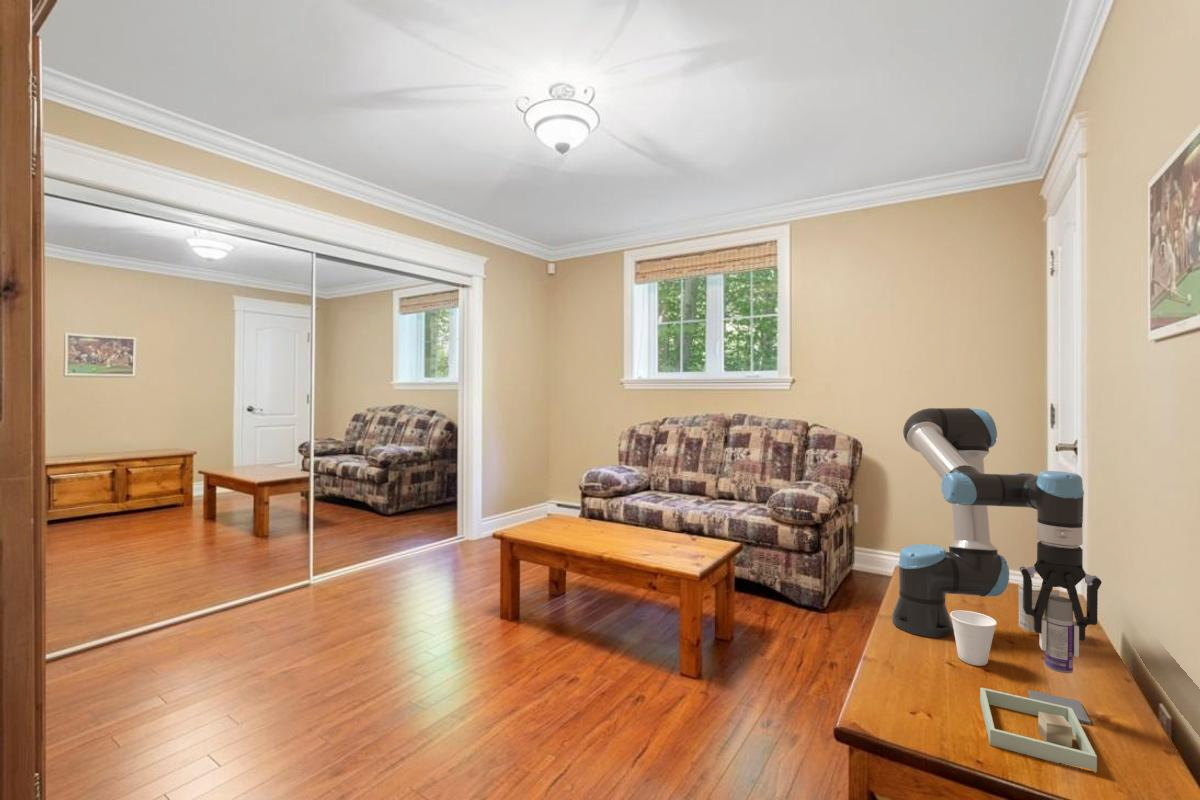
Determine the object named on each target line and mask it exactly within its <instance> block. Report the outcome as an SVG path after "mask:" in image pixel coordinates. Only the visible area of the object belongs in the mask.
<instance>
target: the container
mask: <svg viewBox="0 0 1200 800" xmlns="http://www.w3.org/2000/svg"><path fill="white" fill-rule="evenodd" d="M1045 619H1046V621H1047V639H1046V651H1044V666H1045V667H1046V668H1047V669H1049V670H1051V671H1054V672H1057V673H1061V674H1072V673H1073V672H1074V655H1073V622H1074V612H1073V604H1072V601H1071V600H1070V598H1069V597H1064V596H1061V595H1059V596H1054V595H1050V596H1049V599H1048V602H1047V605H1046V608H1045Z"/></svg>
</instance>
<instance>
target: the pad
mask: <svg viewBox="0 0 1200 800" xmlns="http://www.w3.org/2000/svg"><path fill="white" fill-rule="evenodd" d="M1027 694H1028V696H1029V697H1028V698H1030V699H1035V700H1039V701H1044V702H1048V703H1052V704H1057V705H1061V706H1066V707H1070V708H1072V709H1073V711H1074V713H1075V715H1076V717H1077V719H1078V721H1079V723H1080V724H1084V723H1085V725H1088V724H1090V725H1089V726H1092V722H1091V719H1090V718H1089V716H1088V714H1087V712H1086V710H1085V708H1084V707H1083V705H1082V703H1081V701H1080V700H1078V699H1077V700H1076V699H1073V698H1068V697H1065V696H1059V695H1055V694H1049V693H1044V692H1040V691H1035V690H1030V689H1027Z"/></svg>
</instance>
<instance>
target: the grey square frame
mask: <svg viewBox="0 0 1200 800" xmlns="http://www.w3.org/2000/svg"><path fill="white" fill-rule="evenodd" d="M979 690H980V691H979V703H980V707H981V710H982V715H983V720H984V725H985V728H986V729H985V730H986V733H987V737H988V742H989V746H993V747H995V748H1000V749H1004V750H1007V751H1011V752H1015V753H1018V754H1022V755H1025V754H1026V755H1025V756H1030V757H1033V758H1037V759H1041V760H1045V761H1048V762H1053V763H1056V764H1059V763H1062V764H1061V765H1063V764H1068V765H1073V766H1078V767H1083V768H1088V769H1091V770H1094V771H1096V772H1098V770H1097V769H1098V765H1097V764H1098V756H1097V754H1096V752H1095V750H1094V748H1093V747H1092V745H1091V742H1090V741H1089V739H1088V737H1087V734H1086V733H1085V731H1084V729H1083V727H1082V725H1081V723H1080V722H1079V721H1078V719H1077V717H1076V715H1075V713H1074V711H1073V709H1072V708H1070V707H1066V706H1061V705H1057V704H1052V703H1048V702H1044V701H1039V700H1035V699H1030V697H1026V696H1021V695H1015V694H1013V693H1012V694H1011V693H1008V692H1003V691H999V690H994V689H991V688H985V687H980V688H979ZM990 706H994V707H999V708H1002V709H1007V710H1011V711H1015V712H1020V713H1024V714H1028V715H1032V716H1037V717H1038V712H1043V713H1049V714H1055V715H1060V716H1063V717H1064V718H1065V719H1066V720H1067V722H1068V723H1069V724H1070V725H1071V727H1072V736H1073V738H1074V739H1075V742H1076V744H1077V743H1078V744H1077V746H1078V745H1079V746H1078V748H1079V747H1080V748H1079V749H1077V748H1073V747H1072V748H1071V747H1066V746H1061V745H1057V744H1053V743H1049V742H1046V741H1045V740H1041V739H1036V738H1033V737H1028V736H1026V735H1021V734H1017V733H1013V732H1009V731H1004V730H1001V729H997V728H995V724H994V720H993V716H992V712H991V708H990ZM1080 749H1081V750H1080Z"/></svg>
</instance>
